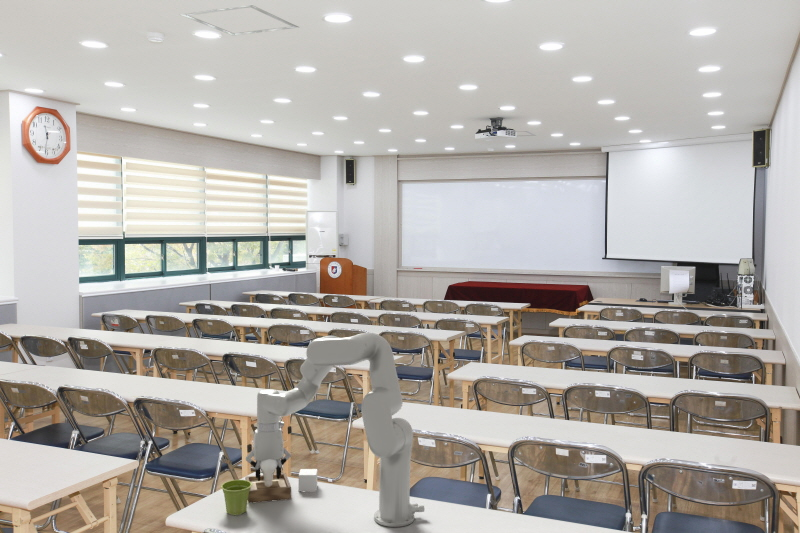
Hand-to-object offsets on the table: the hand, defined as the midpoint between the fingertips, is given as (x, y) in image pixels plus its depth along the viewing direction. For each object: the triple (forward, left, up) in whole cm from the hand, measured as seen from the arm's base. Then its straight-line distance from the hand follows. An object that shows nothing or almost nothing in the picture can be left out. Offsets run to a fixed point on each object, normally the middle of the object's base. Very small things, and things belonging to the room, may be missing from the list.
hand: (268, 478), depth 231 cm
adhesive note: (-14, -1, -6) cm, 15 cm away
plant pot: (+11, +13, -6) cm, 18 cm away
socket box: (0, 0, -5) cm, 5 cm away
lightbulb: (0, 0, -3) cm, 3 cm away
